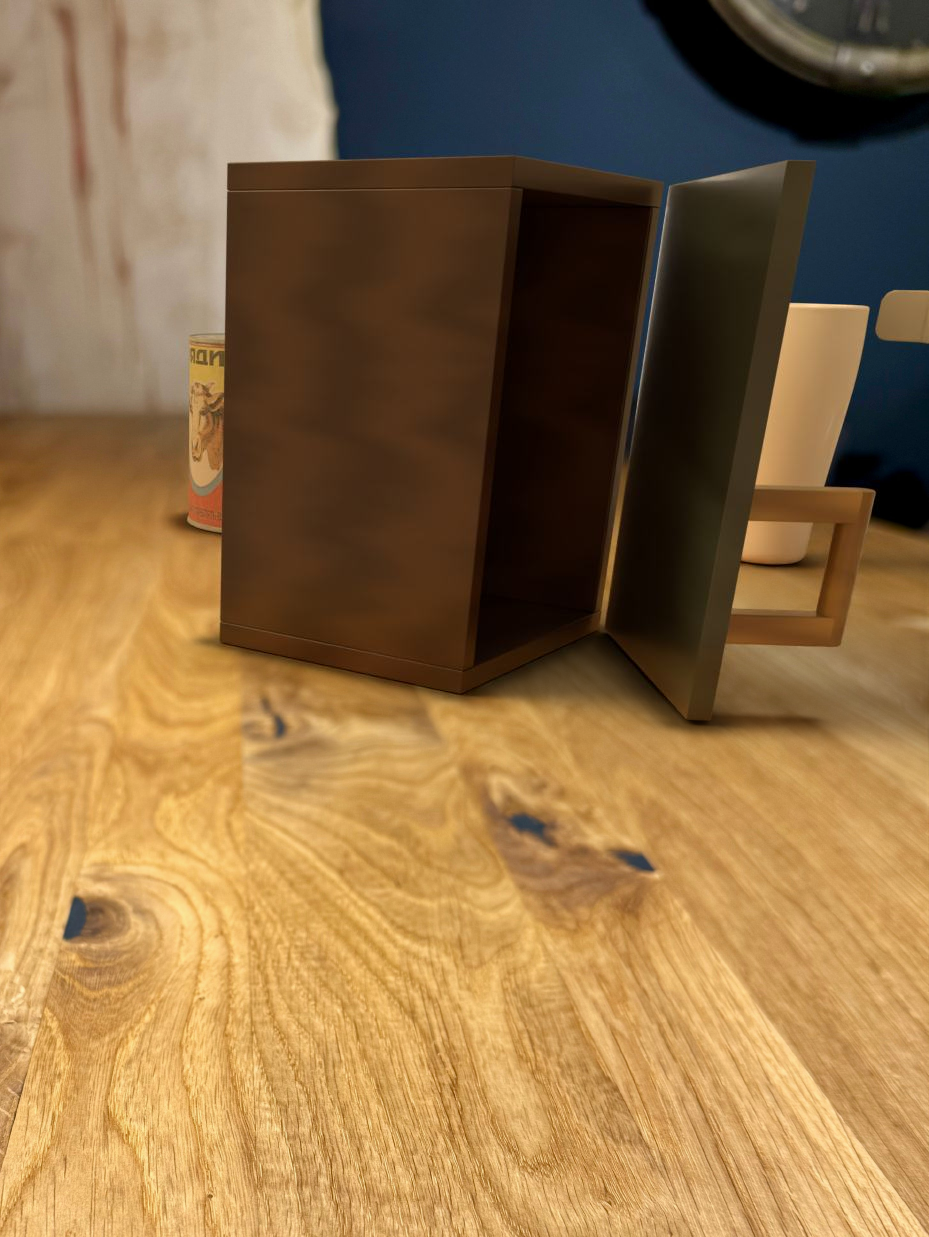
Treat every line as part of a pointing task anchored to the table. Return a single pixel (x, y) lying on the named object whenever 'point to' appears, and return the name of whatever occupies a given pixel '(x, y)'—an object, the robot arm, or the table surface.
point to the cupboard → (426, 407)
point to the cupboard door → (719, 441)
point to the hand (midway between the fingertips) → (886, 314)
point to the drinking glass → (806, 416)
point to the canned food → (206, 430)
